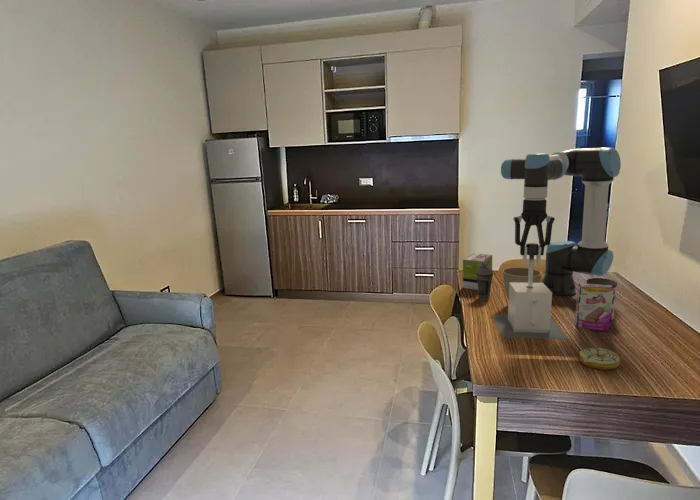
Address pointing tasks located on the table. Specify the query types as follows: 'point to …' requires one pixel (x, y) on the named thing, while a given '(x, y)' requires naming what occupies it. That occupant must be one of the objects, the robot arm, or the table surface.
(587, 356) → the decorated donut
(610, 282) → the coffee can
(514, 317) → the white block with hole
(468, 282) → the tea box
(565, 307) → the table surface
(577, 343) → the table surface
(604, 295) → the candy bar box
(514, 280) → the plant pot
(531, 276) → the plunger
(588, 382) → the table surface
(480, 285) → the beverage cup
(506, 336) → the charcoal mat
